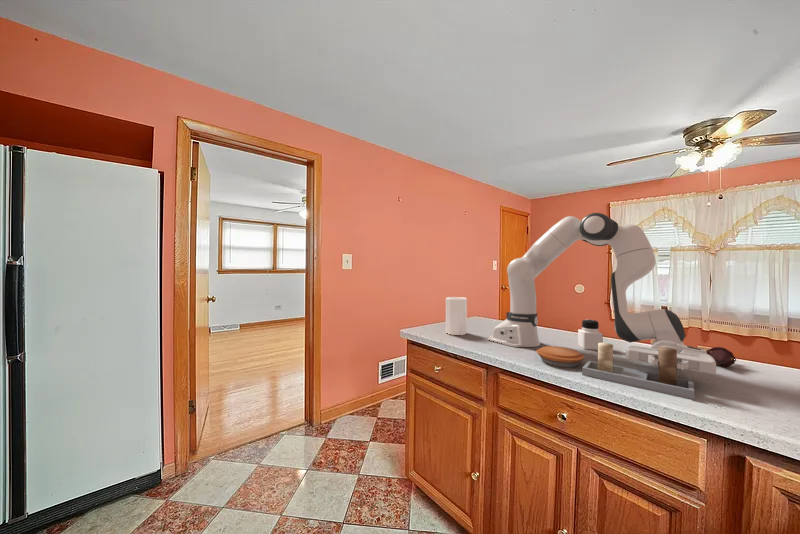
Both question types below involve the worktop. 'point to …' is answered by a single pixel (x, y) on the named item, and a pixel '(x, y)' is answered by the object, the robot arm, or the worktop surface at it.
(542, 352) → the pie
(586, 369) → the rack
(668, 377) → the walnut dowel
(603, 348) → the birch dowel
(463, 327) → the cup
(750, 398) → the worktop surface
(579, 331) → the medicine bottle
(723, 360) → the dark brown oval piece
